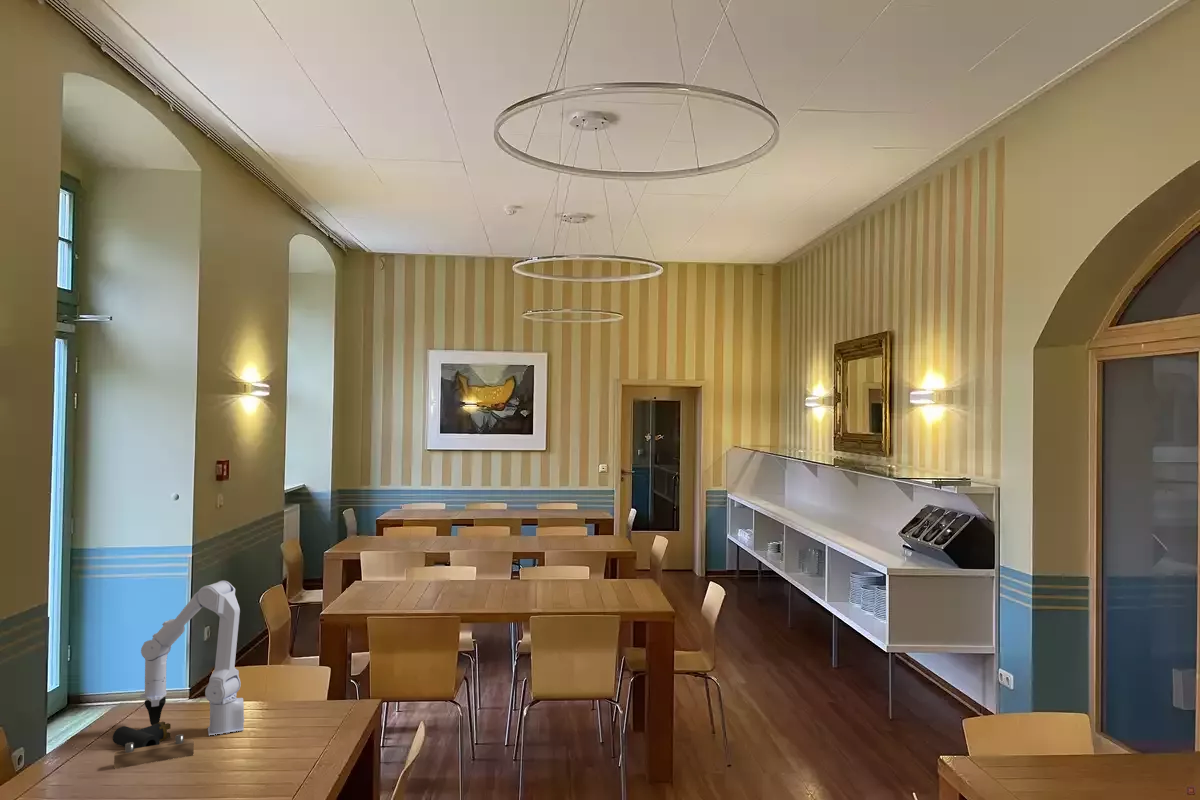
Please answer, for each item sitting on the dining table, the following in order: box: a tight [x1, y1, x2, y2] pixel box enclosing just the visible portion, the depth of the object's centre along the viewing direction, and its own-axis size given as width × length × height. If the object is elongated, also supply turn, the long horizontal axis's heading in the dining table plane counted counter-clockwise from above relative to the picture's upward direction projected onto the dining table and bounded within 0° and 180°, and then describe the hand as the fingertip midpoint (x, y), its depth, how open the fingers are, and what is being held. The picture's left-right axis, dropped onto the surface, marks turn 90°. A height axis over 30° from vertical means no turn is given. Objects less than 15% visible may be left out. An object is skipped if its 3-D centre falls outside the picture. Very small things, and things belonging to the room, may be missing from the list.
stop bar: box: [113, 733, 195, 769], centre depth 224 cm, size 19×3×6 cm, turn 119°
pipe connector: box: [112, 721, 171, 749], centre depth 235 cm, size 12×5×15 cm
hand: (154, 723), depth 248 cm, fingers closed
